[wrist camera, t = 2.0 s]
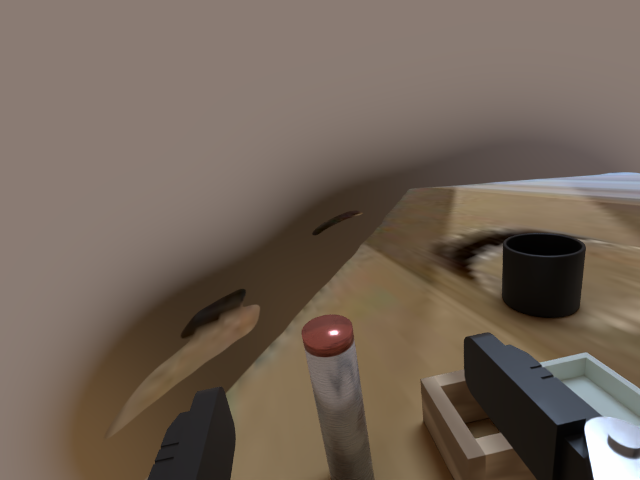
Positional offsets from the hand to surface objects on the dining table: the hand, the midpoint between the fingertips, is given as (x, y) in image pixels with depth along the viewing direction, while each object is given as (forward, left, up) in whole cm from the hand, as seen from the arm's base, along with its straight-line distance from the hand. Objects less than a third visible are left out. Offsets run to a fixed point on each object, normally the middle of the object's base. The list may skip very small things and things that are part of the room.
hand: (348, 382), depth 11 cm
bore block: (-12, -11, -20) cm, 26 cm away
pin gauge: (0, -11, -20) cm, 23 cm away
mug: (-33, -31, -20) cm, 50 cm away
